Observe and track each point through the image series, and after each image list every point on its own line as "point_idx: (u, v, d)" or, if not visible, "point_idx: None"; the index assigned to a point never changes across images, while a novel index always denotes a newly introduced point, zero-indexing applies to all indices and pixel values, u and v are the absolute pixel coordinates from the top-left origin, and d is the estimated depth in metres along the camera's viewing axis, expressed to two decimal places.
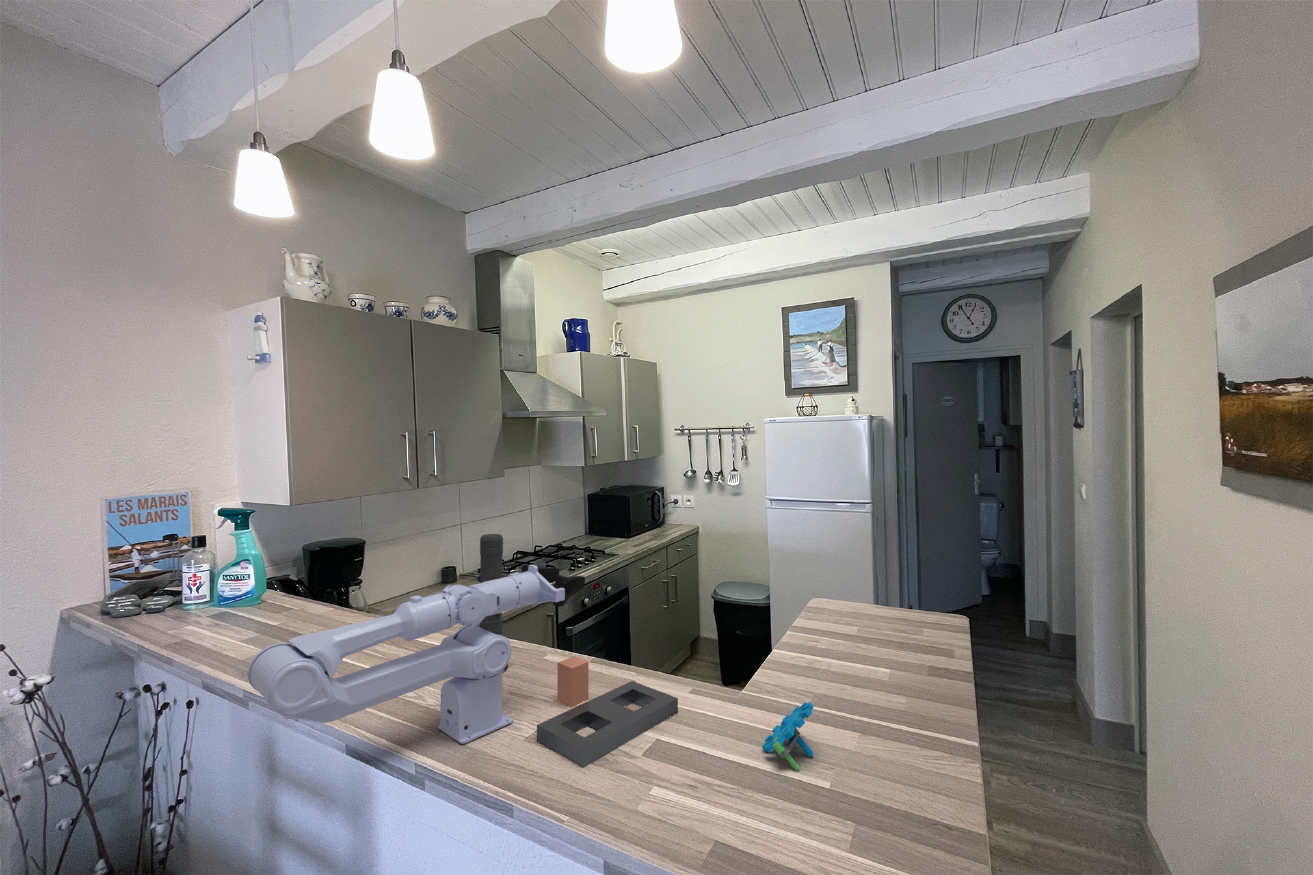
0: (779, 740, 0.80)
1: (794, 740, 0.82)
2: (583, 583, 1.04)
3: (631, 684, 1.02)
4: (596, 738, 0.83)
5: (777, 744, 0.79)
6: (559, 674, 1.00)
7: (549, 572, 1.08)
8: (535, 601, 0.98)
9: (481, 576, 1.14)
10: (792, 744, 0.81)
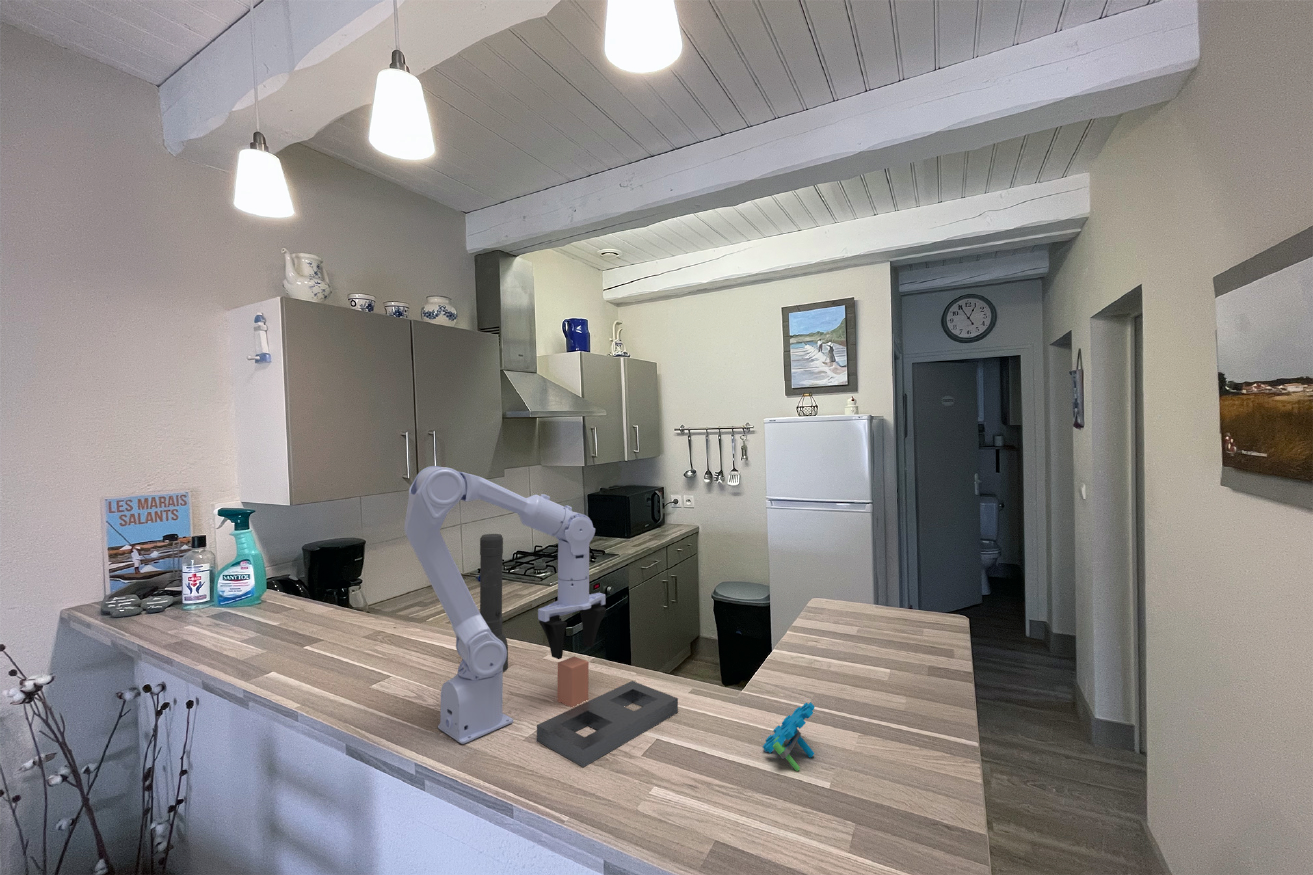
0: (779, 740, 0.80)
1: (795, 740, 0.82)
2: (554, 655, 0.98)
3: (631, 684, 1.02)
4: (596, 738, 0.83)
5: (777, 744, 0.79)
6: (559, 674, 1.00)
7: (590, 634, 1.03)
8: None
9: (481, 576, 1.14)
10: (792, 744, 0.81)
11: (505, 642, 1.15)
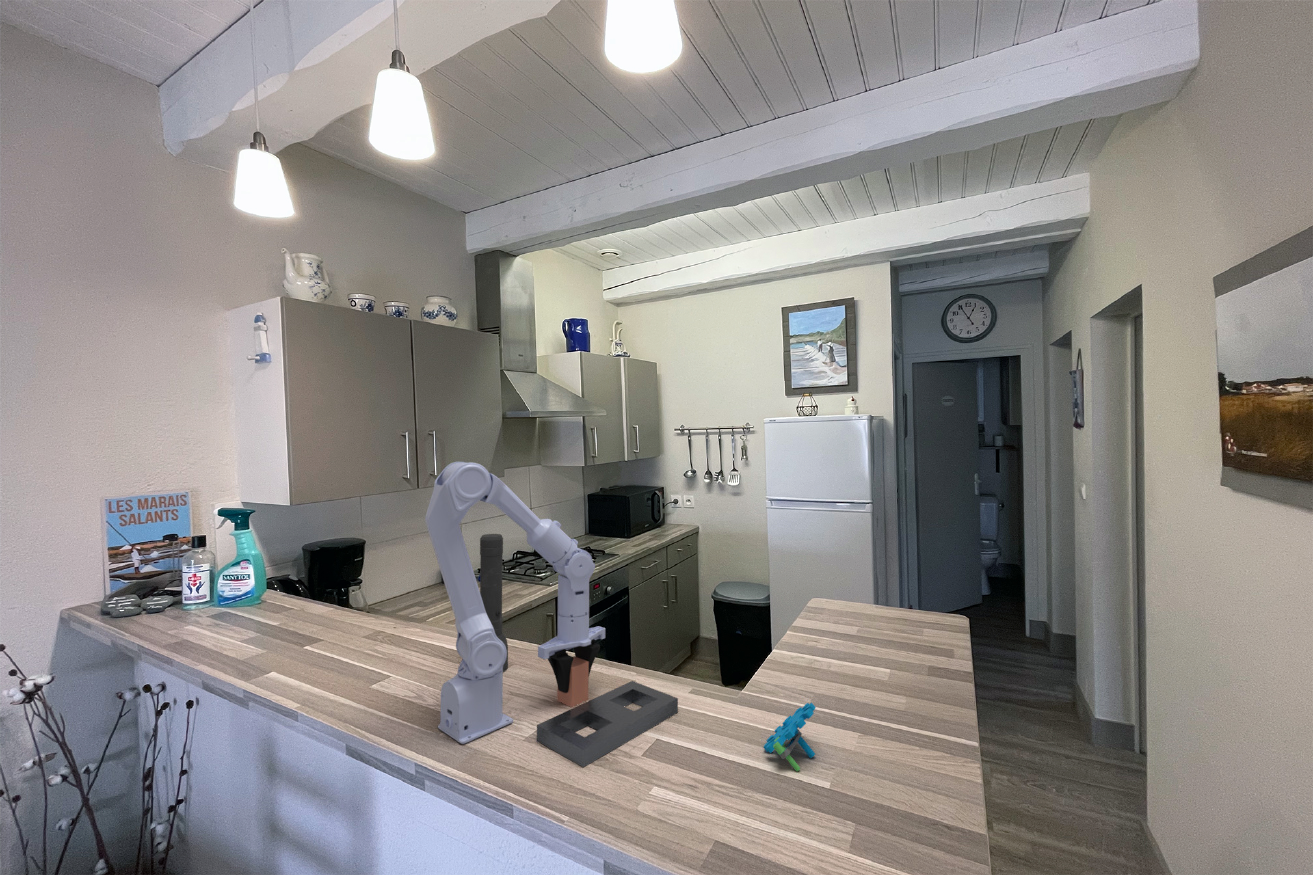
0: (780, 740, 0.80)
1: (795, 741, 0.81)
2: (560, 689, 0.99)
3: (631, 684, 1.02)
4: (596, 738, 0.83)
5: (777, 744, 0.79)
6: None
7: None
8: None
9: (481, 576, 1.14)
10: (793, 745, 0.81)
11: (505, 642, 1.15)
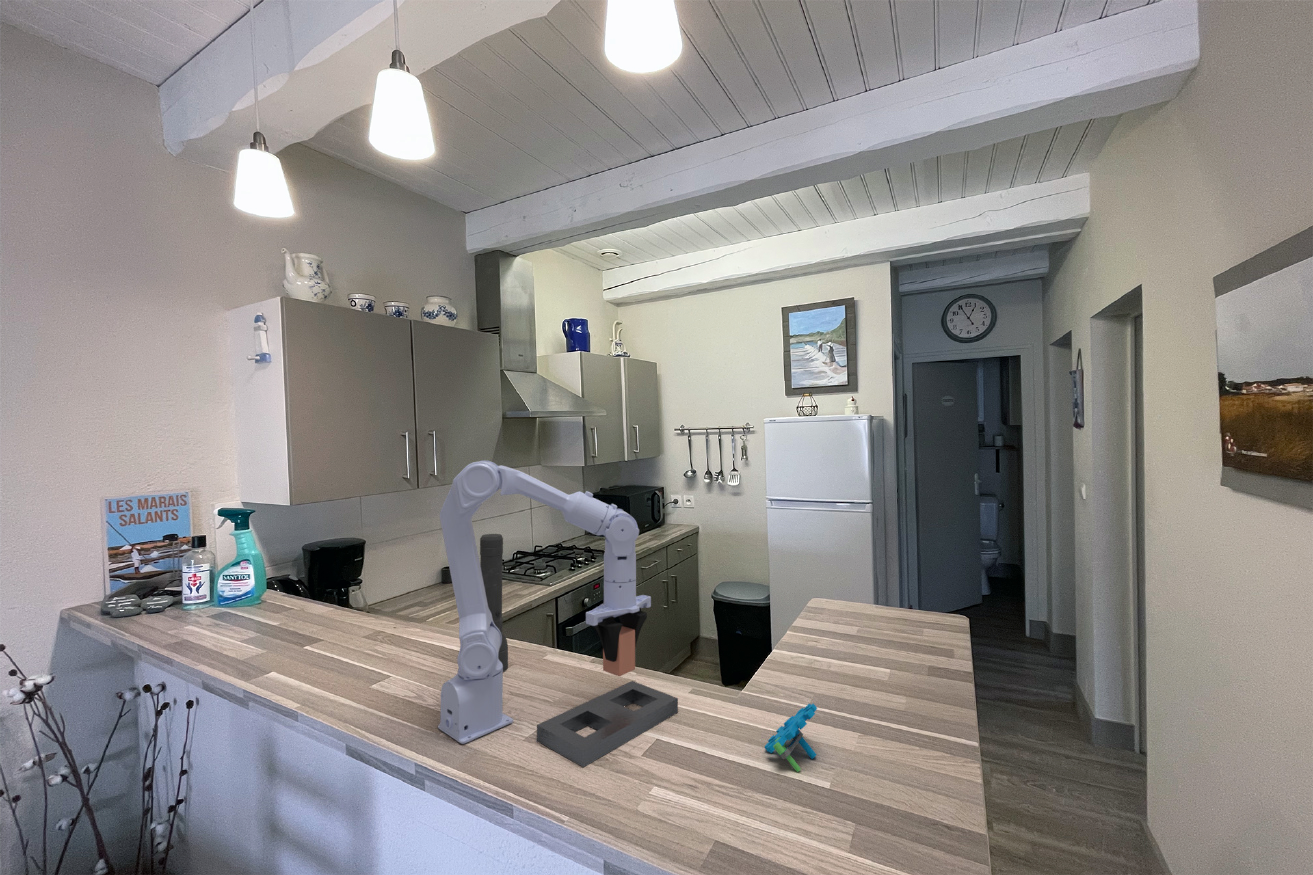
0: (780, 741, 0.80)
1: (796, 741, 0.81)
2: (608, 658, 0.95)
3: (631, 684, 1.02)
4: (596, 738, 0.83)
5: (778, 745, 0.79)
6: None
7: None
8: None
9: None
10: (794, 745, 0.80)
11: (505, 642, 1.15)
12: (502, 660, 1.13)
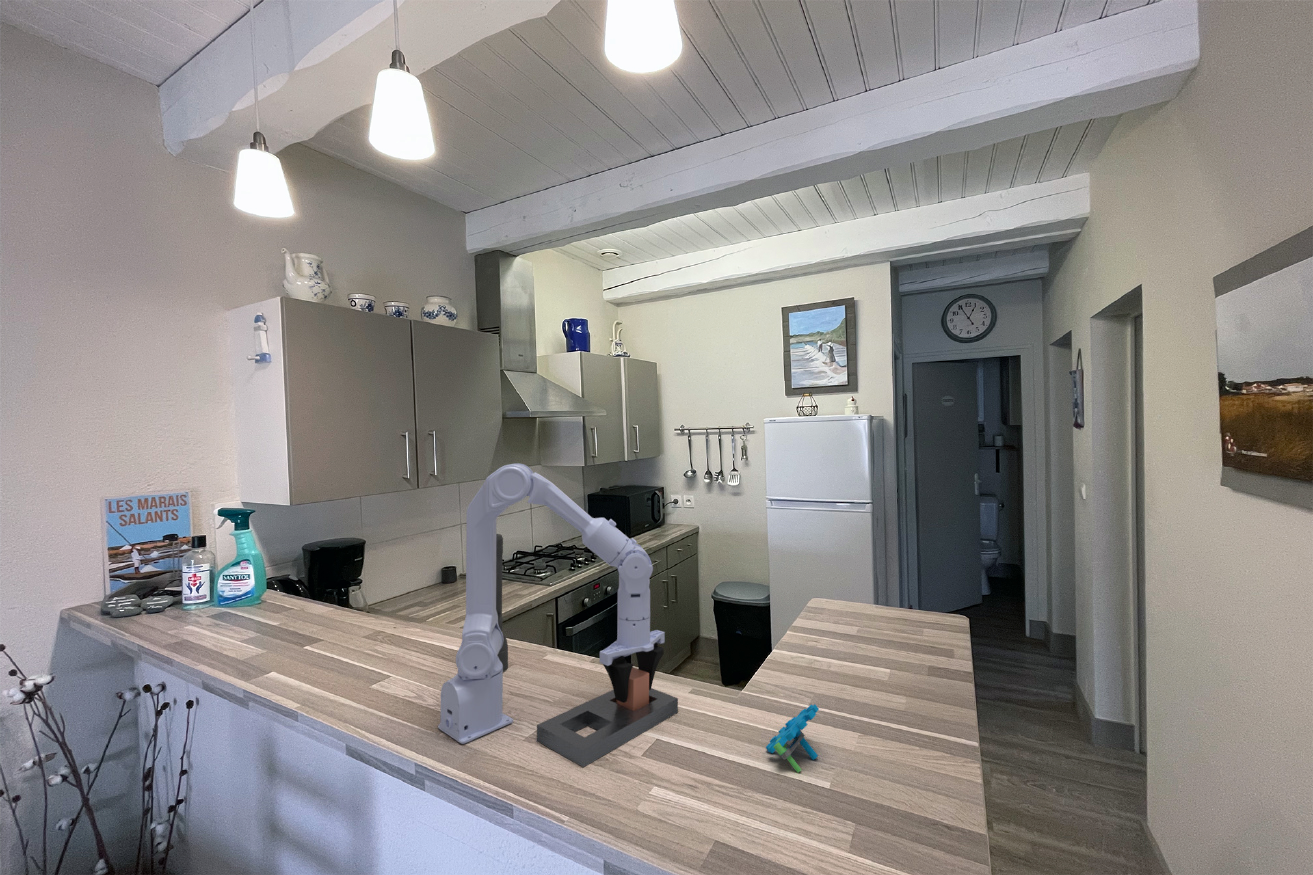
0: (781, 741, 0.80)
1: (797, 742, 0.81)
2: (618, 698, 0.93)
3: None
4: (596, 738, 0.83)
5: (778, 745, 0.79)
6: None
7: None
8: (617, 638, 0.96)
9: None
10: (794, 746, 0.80)
11: (505, 642, 1.15)
12: (502, 660, 1.13)
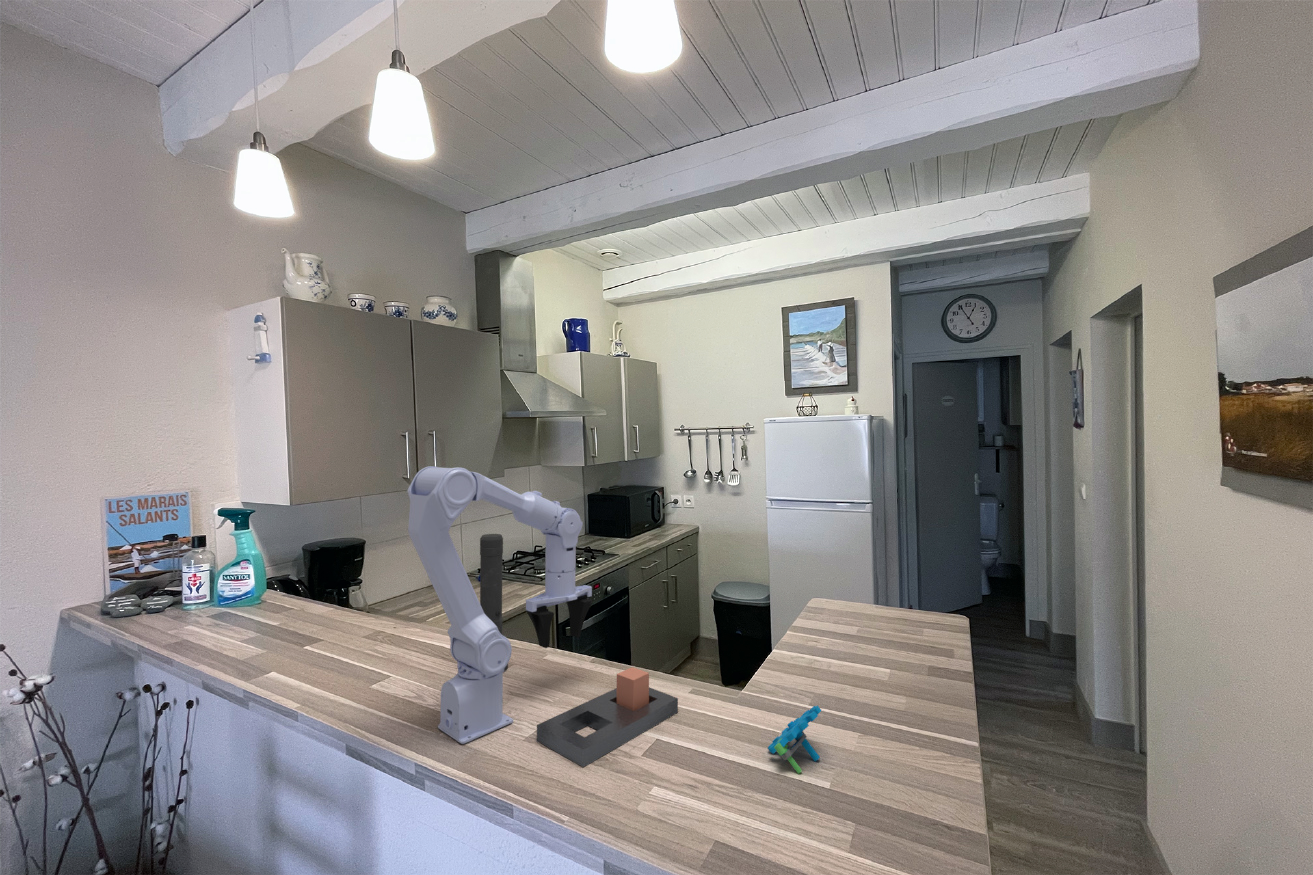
0: (782, 742, 0.80)
1: (798, 743, 0.81)
2: (541, 644, 1.02)
3: None
4: (596, 738, 0.83)
5: (778, 745, 0.79)
6: (618, 686, 0.95)
7: (577, 624, 1.07)
8: None
9: (481, 576, 1.14)
10: (796, 747, 0.80)
11: None
12: None
